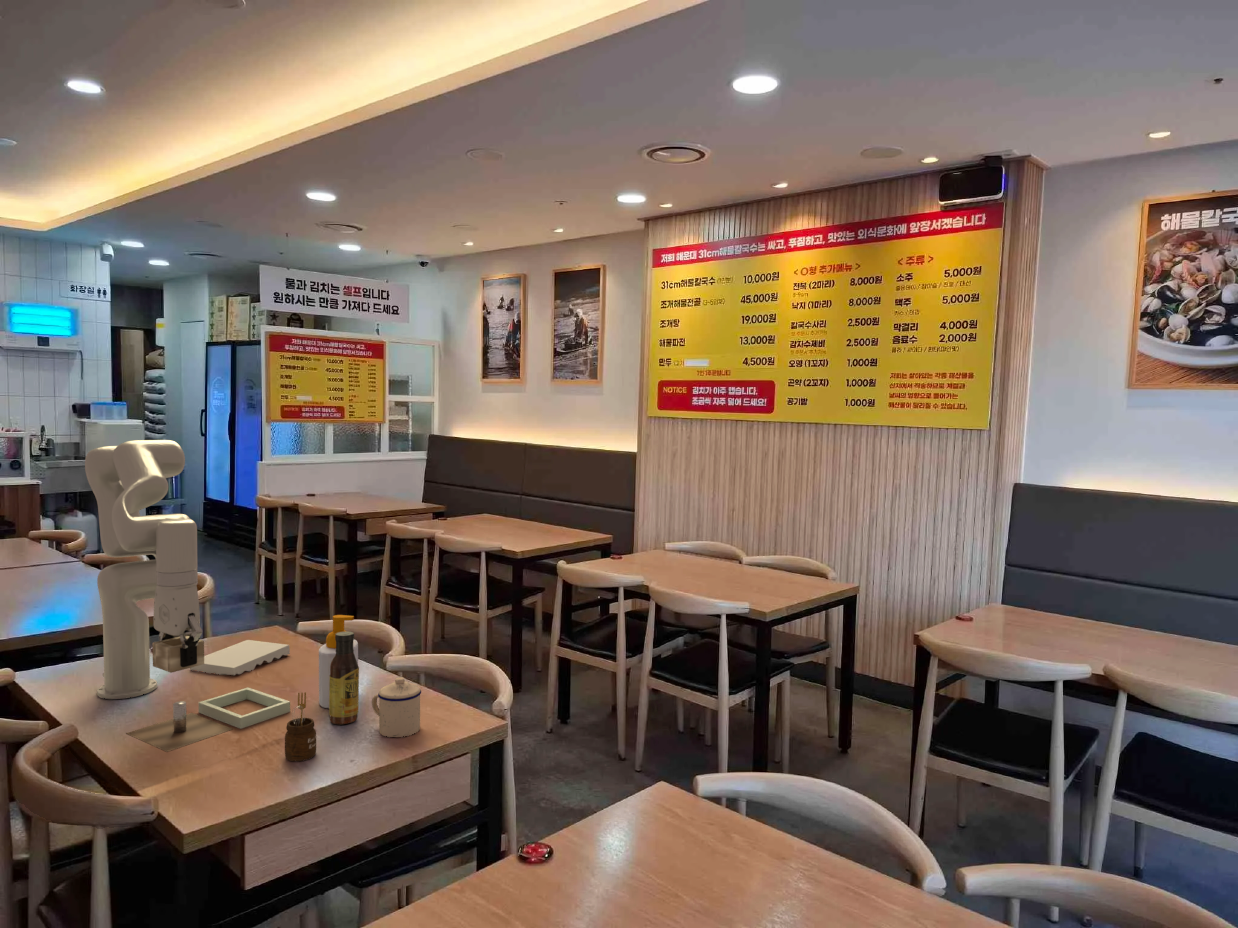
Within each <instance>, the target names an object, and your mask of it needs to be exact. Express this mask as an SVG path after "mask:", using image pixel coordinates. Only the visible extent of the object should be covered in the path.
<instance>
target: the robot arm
mask: <svg viewBox="0 0 1238 928" xmlns="http://www.w3.org/2000/svg"><path fill="white" fill-rule="evenodd" d="M185 456H186V455H185V452H184V450H183V448H182V447H181V445H180V444H179V443H177V442H176V441H174V440H170V439H142V440H141V439H139V440H138V439H135V440H127V441H125V442H122V443H119V444H118V445H107V446H105V445H104V446H100V447H96V448H93V449H91V450H89V451H88V452H87V453H86V456H85V458H84V459H85V461H84V469H85V475H86V479H87V482H88V484H89V487H90V488H91V491H92V492H93V494H94V496H95V499H96V504H97V509H98V510H97V511H98V523H99V525H98V526H99V535H100V542H101V543H100V544H101V549H102V551H103V553H104V554H105V555H106V556H107V557H110V558H130V557H137V556H149V555H152V556H153V557H154V558H155V559H149V560H148V559H147V560H137V561H128V562H118V563H115V564H110V565H107V566H106V567H104V568H103V569H101V571H100V572H99V573H98V575H97V581H96V583H97V590H98V594H99V599H100V604H101V612H102V613H101V615H102V630H103V631H102V633H103V634H102V636H103V637H102V640H103V641H102V642H103V644H102V645H103V673H102V677H103V679H104V680H103V681H104V684H103V685H100V687H98V688H97V690H96V695H97V696H98V697H99V698H101V697H102V698H101V699H104V698H105V699H107V700H121V699H129V698H130V697H131V698H136V697H140V696H144V695H147V694H149V693H151V692H153V691H154V690H157V688H158V681H157V680H156V679H154V678H151V669H150V667H151V665H150V664H151V662H150V659H151V658H150V624H149V623H150V622H149V621H150V620H149V616H148V614H147V613H146V611H144V609H142V608H141V607H140V606H138V605H137V602H139V601H143V600H150V599H151V600H152V599H153V600H154V601H153V602H154V603H153V628H154V629H155V630H156V631H157V633H158V634H159V635H158V641H162V640H167V639H171V638H175V637H180V640H181V643H182V647H183V648H180V662H181V667H187V666H191V665H194V664H196V663H197V646H198V641H199V639H200V638H201V636H202V634H203V629H202V627H201V625H200V624H201V622H200V621H201V617H200V615H201V613H200V601H199V592H198V587H197V585H199V584H198V583H199V582H198V581H199V580H198V579H199V575H198V526H197V523H196V522H195V521H194V520H193V519H191V518H190V517H189V516H188V515H187V514H185V513H184V514H183V513H167V514H151V515H141V514H140V511H142V510H144V509H146V508H148V507H151V506H153V505H155V504H157V503H158V502H160V501H161V500H163V499H164V498H165V496H166V495H167V494H168V492H169V482H168V480H167V479H168V478H173V477H176V476H178V475H179V474H181V473H182V472H183V470H184V468H185V465H186V457H185ZM185 631H186V632H185ZM185 636H190V637H189V638H188V640H186V637H185ZM200 640H201V639H200ZM143 694H144V695H143ZM105 699H104V700H105Z"/></svg>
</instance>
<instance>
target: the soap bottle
mask: <svg viewBox="0 0 1238 928" xmlns="http://www.w3.org/2000/svg"><path fill="white" fill-rule="evenodd" d="M354 620H355V616H354V615H345V614H335V615H332V631H331V632H329V633H328V634H327V635H326V638H325V643H324V644H323V645H321V646H320V648H318V704H319V705H320V707H322V708H323V709H324V708H326V709H329V689H330V665H331V662H332V660H333V658H334V657H335V655H336V640H335V634H336V633H338V632H346V631H347V630H346V629H345V622H346V621H349V622H351V621H354ZM353 650H354V651H353V652H354V655H355V658H356V661H357V664H358V665H359V643H358V640H356V639H355V638H354V640H353Z"/></svg>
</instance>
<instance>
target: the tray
mask: <svg viewBox="0 0 1238 928" xmlns="http://www.w3.org/2000/svg"><path fill="white" fill-rule="evenodd" d="M245 700H248V701H250V702H254V703H256V704H259V705H262V706H264V707H263V708H260V709H258V710H255V711H252V712H249V713H246V714H243V715H241V714H238V713H236V712H233V711H231V710H228V709H225V708H223V707H226V706H227V707H228V706H229V705H233V704H235V703H239V702H243V701H245ZM197 703H198V713H199V714H202V715H204V716H206V717H209V718H212V719H214V720H217V721H220V722H222V723H224V724H228V725H229V726H232V727H234V728H236V729H237V728H238V729H241V730H242V729H245V728H247V727H251V726H252V725H256V724H259V723H262V722H265V721H267V720H271V719H273V718H277V717H279V716H282V715H284V714H285V715H286V714H287V713H290V712H291V701H289V700H286V699H284V698H281V697H278V696H275V695H272V694H269V693H266V692H262V691H260V690H257V689H253V688H252V687H245V688H242V689H238V690H235V691H232V692H231V691H230V692H228V693H225V694H221V695H218V696H215V697H212V698H208V699H205V700H201V701H198V702H197ZM265 706H266V707H265Z"/></svg>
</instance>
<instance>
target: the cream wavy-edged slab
mask: <svg viewBox="0 0 1238 928" xmlns="http://www.w3.org/2000/svg"><path fill="white" fill-rule="evenodd" d="M290 649H291V647H290V644H286V643H285V644H284V643H278V642H277V643H276V642H270V641H269V642H268V641H259V640H252V639H246V640H243V641H240V642H238V643H236V644H232V645H230V646H228V647H225V648H222V649H219V650H216V651H213V652H211V653H209V654H206V655H204V664H203V665H199V666H195V667H191V668H189V669H190V670H191V671H193V670H197V671H196V672H199V671H203V672H202V673H205V672H206V673H207V674H211V673H215V675H218V674H219V676H230V675H231V676H236V675H241V674H243V673H244V672H252V671H254V669H255V668H256V666H261V665H262V664H264V663H265V664H268V663H271V662H272V661H277V660H279V659H280V658H281V657H282V656H288V655H290ZM251 670H252V671H251Z"/></svg>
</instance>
